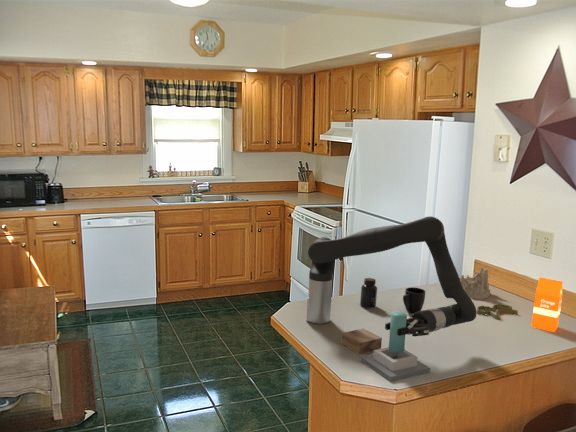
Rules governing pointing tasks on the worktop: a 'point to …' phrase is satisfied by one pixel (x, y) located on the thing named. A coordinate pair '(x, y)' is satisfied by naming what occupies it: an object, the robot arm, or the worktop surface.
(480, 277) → the sand castle
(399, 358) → the socket base
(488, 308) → the cookie cutter
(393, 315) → the peg
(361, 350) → the stand
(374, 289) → the supplement bottle
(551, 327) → the orange juice
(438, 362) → the worktop surface
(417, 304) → the mug
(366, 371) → the worktop surface
